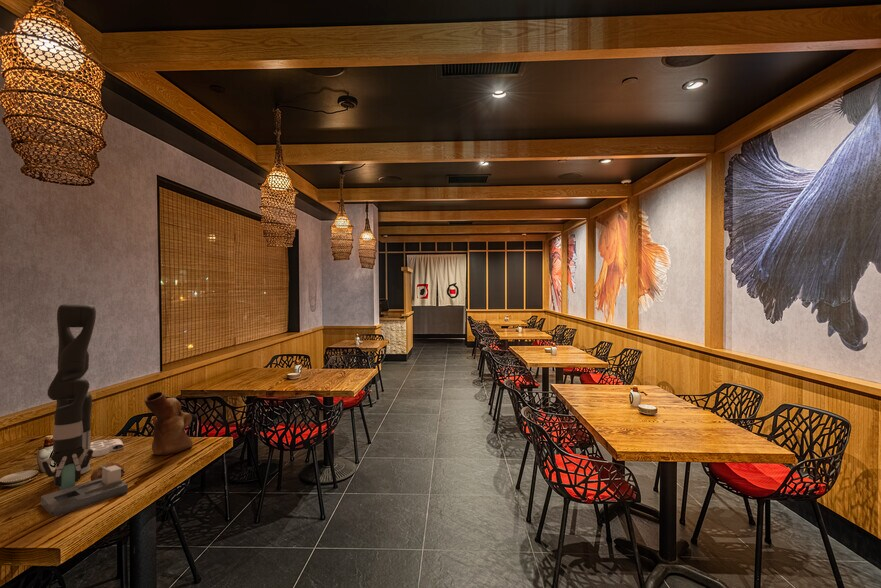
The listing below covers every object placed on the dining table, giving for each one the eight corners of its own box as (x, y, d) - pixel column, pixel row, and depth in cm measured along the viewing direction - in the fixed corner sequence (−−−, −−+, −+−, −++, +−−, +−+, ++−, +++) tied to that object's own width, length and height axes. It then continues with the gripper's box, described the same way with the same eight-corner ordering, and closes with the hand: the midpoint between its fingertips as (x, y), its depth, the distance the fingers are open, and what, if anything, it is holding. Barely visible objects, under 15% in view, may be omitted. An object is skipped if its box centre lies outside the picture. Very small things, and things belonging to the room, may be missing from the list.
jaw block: (101, 481, 145) (102, 467, 145) (115, 477, 149) (115, 463, 149) (107, 485, 142) (107, 470, 142) (120, 481, 145) (121, 466, 145)
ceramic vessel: (199, 445, 191) (200, 386, 192) (158, 463, 170) (158, 396, 171) (175, 443, 195) (175, 384, 196) (131, 460, 174) (132, 394, 175)
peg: (57, 487, 134) (58, 464, 134) (73, 483, 138) (73, 460, 138) (61, 490, 132) (61, 467, 132) (76, 485, 135) (77, 463, 136)
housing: (40, 504, 135) (40, 493, 135) (111, 482, 152) (112, 472, 152) (53, 517, 126) (53, 506, 126) (127, 492, 143) (127, 482, 143)
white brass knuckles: (124, 451, 186) (84, 460, 175) (120, 442, 198) (81, 450, 188) (124, 444, 186) (84, 452, 175) (120, 436, 199) (81, 443, 188)
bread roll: (103, 483, 159) (94, 466, 158) (131, 468, 163) (121, 453, 162) (92, 493, 150) (81, 476, 149) (120, 478, 153) (110, 461, 152)
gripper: (90, 428, 143) (89, 473, 143) (36, 439, 131) (35, 489, 131) (97, 431, 139) (96, 478, 139) (42, 443, 127) (41, 495, 127)
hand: (67, 483), depth 135 cm, fingers closed on peg, 4 cm apart
